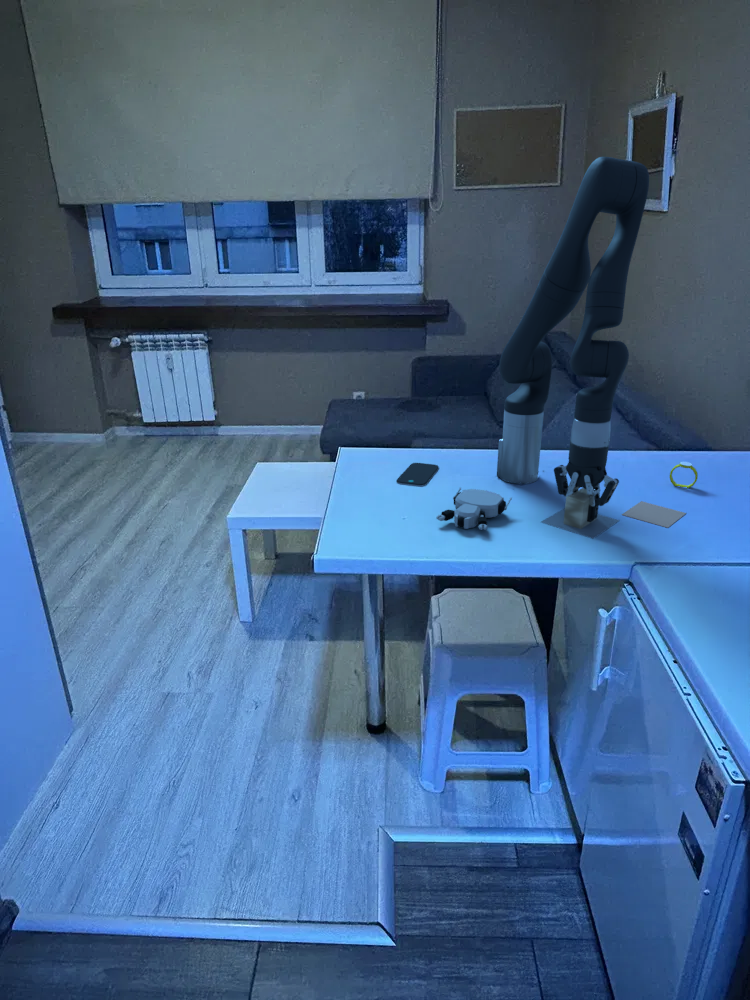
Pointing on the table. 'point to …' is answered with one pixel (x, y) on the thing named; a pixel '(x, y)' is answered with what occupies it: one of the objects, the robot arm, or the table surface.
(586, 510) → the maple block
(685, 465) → the watch
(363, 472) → the table surface
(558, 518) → the board
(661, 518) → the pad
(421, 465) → the smartphone
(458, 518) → the robot toy
